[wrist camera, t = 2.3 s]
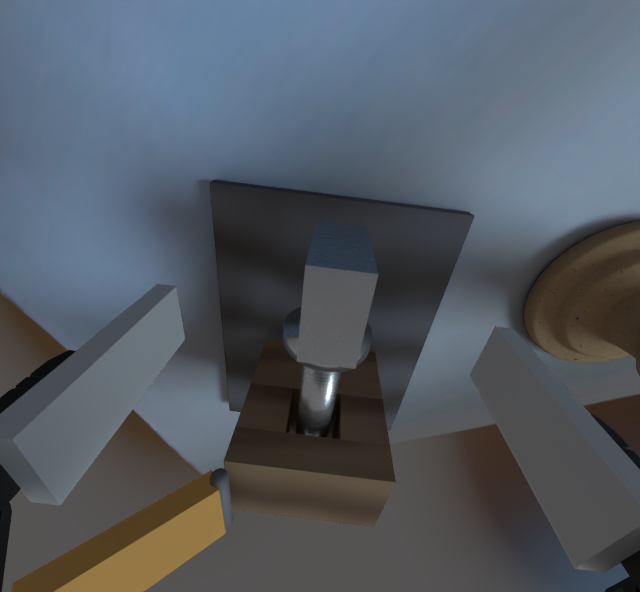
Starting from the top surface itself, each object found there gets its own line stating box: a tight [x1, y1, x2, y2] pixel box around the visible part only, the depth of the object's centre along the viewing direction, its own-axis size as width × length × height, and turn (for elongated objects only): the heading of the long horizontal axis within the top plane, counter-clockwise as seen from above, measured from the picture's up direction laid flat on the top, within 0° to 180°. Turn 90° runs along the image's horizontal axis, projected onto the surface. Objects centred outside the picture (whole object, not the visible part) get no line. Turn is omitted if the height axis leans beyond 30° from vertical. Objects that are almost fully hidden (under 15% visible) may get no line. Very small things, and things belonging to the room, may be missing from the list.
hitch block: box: [210, 180, 474, 527], centre depth 21 cm, size 24×18×12 cm
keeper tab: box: [12, 468, 233, 592], centre depth 15 cm, size 6×9×1 cm
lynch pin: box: [283, 221, 379, 438], centre depth 18 cm, size 18×5×6 cm, turn 174°
